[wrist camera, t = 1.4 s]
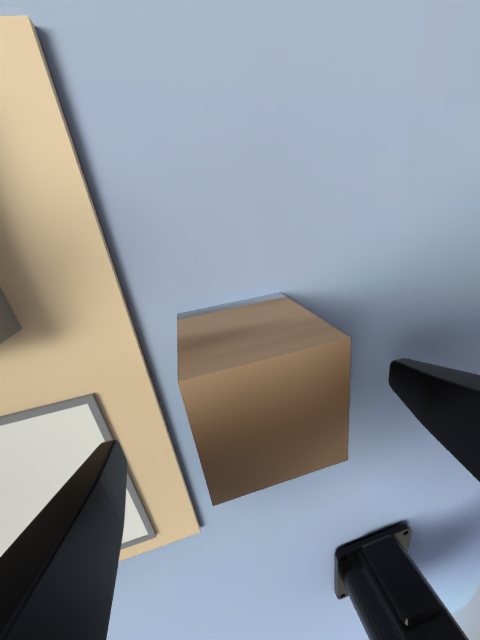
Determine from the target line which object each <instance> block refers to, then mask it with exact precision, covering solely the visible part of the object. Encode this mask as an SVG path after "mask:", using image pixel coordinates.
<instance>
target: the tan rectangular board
mask: <svg viewBox="0 0 480 640" xmlns="http://www.w3.org/2000/svg"><path fill="white" fill-rule="evenodd" d="M0 287H1V289H2V291H3V293H4V294H5V296H6V298H7V300H8V302H9V304H10V306H11V308H12V310H13V312H14V314H15V316H16V318H17V320H18V322H19V324H20V325H21V327H22V330H20V331H19V332H17V333H16V334H14V335H13V336H11V337H10V338H8V339H7V340H5V341H4V342H2V343H1V344H0V557H1V556H2V554H3V553H4V552H5V551H6V550H7V549H8V548H9V546H10V545H11V544H12V543H13V542H14V541H15V540H16V539H17V537H18V536H19V535H20V534H21V533H22V532H23V531H24V529H25V528H26V527H27V526H28V525H29V524H30V523H31V522H32V520H33V519H34V518H35V517H36V516H37V515H38V514H39V512H40V511H41V510H42V509H43V508H44V507H45V506H46V505H47V503H48V502H49V501H50V500H51V499H52V498H53V497H54V495H55V494H56V493H57V492H58V491H59V490H60V489H61V488H62V486H63V485H64V484H65V483H66V482H67V481H68V480H69V478H70V477H71V476H72V475H73V474H74V473H75V472H76V471H77V469H78V468H79V467H80V466H81V465H82V464H83V463H84V461H85V460H86V459H87V458H88V457H89V456H90V455H91V454H92V452H93V451H94V450H95V449H96V448H97V447H98V446H99V445H100V444H101V443H103V442H105V441H109V440H113V439H117V440H118V441H119V443H120V445H121V448H122V450H123V452H124V454H125V457H126V459H127V466H128V468H127V486H126V504H125V520H124V530H123V537H122V544H121V550H120V556H119V561H121V560H124V559H127V558H130V557H133V556H135V555H138V554H141V553H144V552H147V551H149V550H152V549H155V548H158V547H161V546H163V545H166V544H169V543H172V542H175V541H177V540H180V539H183V538H186V537H189V536H191V535H194V534H197V533H200V525H199V522H198V519H197V516H196V513H195V510H194V507H193V504H192V501H191V498H190V495H189V492H188V489H187V486H186V483H185V480H184V477H183V474H182V471H181V468H180V465H179V462H178V459H177V456H176V453H175V450H174V447H173V444H172V441H171V438H170V435H169V432H168V429H167V426H166V423H165V420H164V417H163V414H162V410H161V407H160V404H159V401H158V398H157V395H156V392H155V389H154V386H153V383H152V380H151V377H150V374H149V371H148V368H147V365H146V362H145V359H144V356H143V353H142V350H141V347H140V344H139V341H138V338H137V335H136V332H135V329H134V326H133V323H132V320H131V317H130V314H129V311H128V308H127V305H126V302H125V299H124V296H123V293H122V290H121V287H120V284H119V280H118V277H117V274H116V271H115V268H114V265H113V262H112V259H111V256H110V253H109V250H108V247H107V244H106V241H105V238H104V235H103V232H102V229H101V226H100V223H99V220H98V217H97V214H96V211H95V208H94V205H93V202H92V199H91V196H90V193H89V190H88V187H87V184H86V181H85V178H84V175H83V172H82V169H81V166H80V163H79V160H78V157H77V153H76V150H75V147H74V144H73V141H72V138H71V135H70V132H69V129H68V126H67V123H66V120H65V117H64V114H63V111H62V108H61V105H60V102H59V99H58V96H57V93H56V90H55V87H54V84H53V81H52V78H51V75H50V72H49V69H48V66H47V63H46V60H45V57H44V54H43V51H42V48H41V45H40V42H39V39H38V36H37V33H36V30H35V26H34V24H33V22H32V21H31V20H30V18H29V17H28V16H0Z"/></svg>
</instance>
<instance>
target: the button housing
mask: <svg viewBox="0 0 480 640" xmlns="http://www.w3.org/2000/svg"><path fill="white" fill-rule="evenodd" d="M20 330H22V327H21V325H20V324H19V322H18V320H17V318H16V316H15V314H14V312H13V310H12V308H11V306H10V304H9V302H8V300H7V298H6V296H5V294H4V293H3V291H2V289H1V287H0V344H1V343H2V342H4V341H5V340H7V339H8V338H10V337H11V336H13V335H14V334H16V333H17V332H19V331H20Z"/></svg>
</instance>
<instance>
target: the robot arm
mask: <svg viewBox="0 0 480 640" xmlns="http://www.w3.org/2000/svg"><path fill="white" fill-rule="evenodd" d="M389 385H390V387H391V388H392V390H393V391H394V392H395V393H396V394H397V395H398V397H399V398H400V399H401V400H402V401H403V402H404V404H405V405H406V406H407V407H408V408H409V410H410V411H411V412H412V413H413V414H414V415H415V417H416V418H417V419H418V420H419V421H420V422H421V424H422V425H423V426H424V427H425V428H426V429H427V430H428V431H429V432H430V433H431V434H432V435H433V436H434V437H435V438H436V439H437V440H438V441H439V442H440V443H441V444H442V445H443V446H444V447H445V448H446V449H447V450H448V451H449V452H450V453H451V454H452V455H453V456H454V457H455V458H456V459H457V460H458V461H459V462H460V463H461V464H462V465H463V466H464V467H465V468H466V469H467V470H468V471H469V472H470V473H471V474H472V475H473V476H474V477H475V478H476V479H477V480H478V481H479V482H480V375H477V374H472V373H468V372H463V371H459V370H454V369H450V368H445V367H441V366H437V365H432V364H428V363H423V362H419V361H414V360H410V359H405V358H401V359H397V360H394V361H392V362H391V364H390V370H389ZM127 468H128V466H127V459H126V457H125V454H124V452H123V450H122V448H121V445H120V443H119V441H118V440H117V439H113V440H109V441H105V442H103V443H101V444H100V445H99V446H98V447H97V448H96V449H95V450H94V451H93V452H92V454H91V455H90V456H89V457H88V458H87V459H86V460H85V461H84V463H83V464H82V465H81V466H80V467H79V468H78V469H77V471H76V472H75V473H74V474H73V475H72V476H71V477H70V478H69V480H68V481H67V482H66V483H65V484H64V485H63V486H62V488H61V489H60V490H59V491H58V492H57V493H56V494H55V495H54V497H53V498H52V499H51V500H50V501H49V502H48V503H47V505H46V506H45V507H44V508H43V509H42V510H41V511H40V512H39V514H38V515H37V516H36V517H35V518H34V519H33V520H32V522H31V523H30V524H29V525H28V526H27V527H26V528H25V529H24V531H23V532H22V533H21V534H20V535H19V536H18V537H17V539H16V540H15V541H14V542H13V543H12V544H11V545H10V546H9V548H8V549H7V550H6V551H5V552H4V553H3V554H2V556H1V557H0V640H106V638H107V632H108V625H109V619H110V613H111V606H112V600H113V594H114V588H115V581H116V575H117V569H118V562H119V556H120V550H121V544H122V537H123V530H124V520H125V504H126V486H127ZM410 535H411V529H410V527H409V526H408V525H407V524H406V523H403V524H401V525H398V526H396V527H393V528H391V529H388V530H386V531H383V532H381V533H378V534H376V535H373V536H371V537H368V538H366V539H364V540H361V541H359V542H356V543H354V544H351V545H349V546H346V547H344V548H341V549H339V550H338V551H337V552H336V553H335V594H336V596H337V598H338V599H343V598H345V597H347V596H349V597H350V599H351V601H352V603H353V605H354V607H355V610H356V612H357V614H358V616H359V618H360V620H361V622H362V625H363V627H364V629H365V631H366V633H367V635H368V637H369V640H469V639H468V638H467V636H466V635H465V633H464V632H463V631H462V629H461V628H460V626H459V625H458V624H457V622H456V621H455V620H454V618H453V617H452V615H451V614H450V612H449V611H448V609H447V608H446V607H445V605H444V604H443V602H442V601H441V600H440V598H439V597H438V595H437V594H436V592H435V591H434V590H433V588H432V587H431V585H430V584H429V583H428V581H427V580H426V578H425V577H424V576H423V574H422V573H421V571H420V570H419V568H418V567H417V566H416V564H415V563H414V561H413V560H412V559H411V557H410V556H409V554H408V553H407V551H408V545H409V540H410Z"/></svg>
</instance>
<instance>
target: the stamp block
mask: <svg viewBox="0 0 480 640" xmlns="http://www.w3.org/2000/svg"><path fill="white" fill-rule="evenodd" d="M177 352H178V384H179V388H180V391H181V395H182V398H183V402H184V405H185V409H186V413H187V416H188V420H189V423H190V427H191V430H192V434H193V437H194V441H195V444H196V448H197V451H198V455H199V458H200V462H201V465H202V469H203V473H204V476H205V480H206V483H207V487H208V490H209V494H210V497H211V501H212V504H213V506H215V505H217V504H220V503H223V502H226V501H229V500H232V499H235V498H238V497H241V496H244V495H247V494H250V493H253V492H256V491H258V490H261V489H264V488H267V487H270V486H273V485H276V484H279V483H282V482H285V481H288V480H291V479H294V478H297V477H299V476H302V475H305V474H308V473H311V472H314V471H317V470H320V469H323V468H326V467H329V466H332V465H335V464H338V463H340V462H343V461H346V460H348V434H349V398H350V362H351V337H349V336H348V335H346V334H345V333H343V332H341V331H340V330H338V329H337V328H335V327H334V326H332V325H330V324H329V323H327V322H326V321H324V320H323V319H321V318H320V317H318V316H316V315H315V314H313V313H312V312H310V311H309V310H307V309H305V308H304V307H302V306H301V305H299V304H298V303H296V302H294V301H293V300H291V299H290V298H288V297H287V296H285V295H284V294H282V293H280V292H279V293H274V294H270V295H265V296H260V297H255V298H251V299H246V300H241V301H236V302H232V303H227V304H222V305H217V306H213V307H208V308H203V309H198V310H194V311H189V312H184V313H179V314H177Z"/></svg>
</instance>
